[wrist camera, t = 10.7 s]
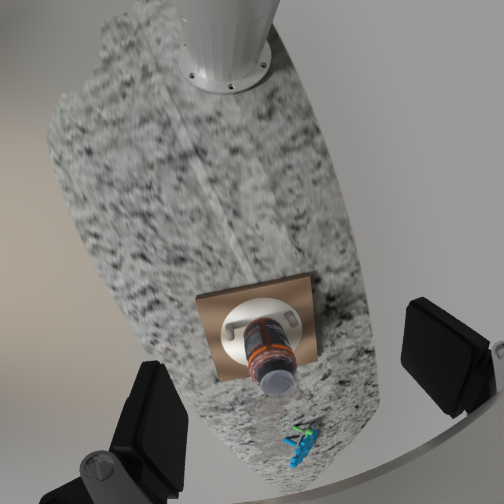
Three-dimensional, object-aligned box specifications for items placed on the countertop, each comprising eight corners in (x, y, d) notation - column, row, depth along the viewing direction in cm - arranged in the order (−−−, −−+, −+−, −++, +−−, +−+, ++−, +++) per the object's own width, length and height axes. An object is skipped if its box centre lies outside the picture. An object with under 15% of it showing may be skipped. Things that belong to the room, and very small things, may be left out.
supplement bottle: (237, 346, 39) (243, 398, 28) (249, 311, 37) (259, 358, 26) (275, 353, 40) (291, 404, 29) (289, 320, 38) (311, 366, 27)
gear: (313, 453, 48) (290, 477, 40) (291, 443, 52) (267, 464, 44) (327, 419, 47) (304, 444, 39) (303, 409, 51) (278, 431, 43)
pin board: (196, 295, 38) (193, 309, 33) (307, 272, 39) (317, 283, 34) (220, 376, 42) (220, 394, 37) (315, 355, 42) (323, 371, 38)
